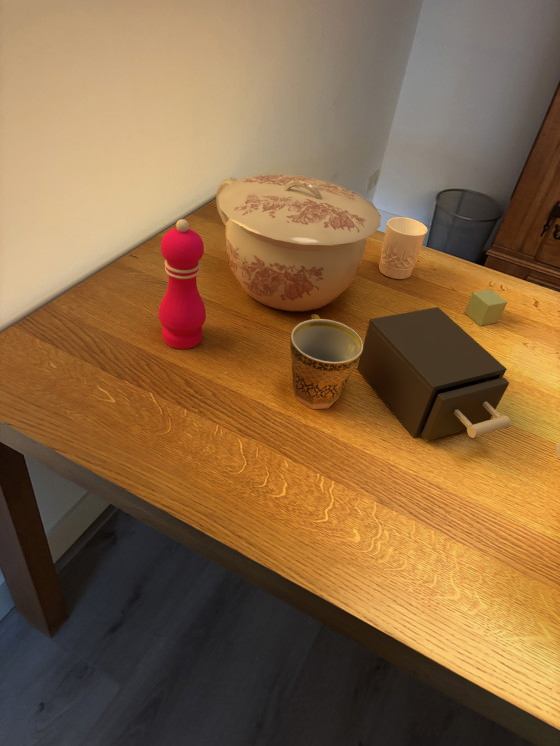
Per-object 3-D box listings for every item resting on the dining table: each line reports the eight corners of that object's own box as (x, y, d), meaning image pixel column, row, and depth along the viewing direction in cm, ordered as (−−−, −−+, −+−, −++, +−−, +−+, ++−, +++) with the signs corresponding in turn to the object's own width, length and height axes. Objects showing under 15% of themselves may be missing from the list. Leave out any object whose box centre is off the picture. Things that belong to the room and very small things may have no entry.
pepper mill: (192, 356, 84) (194, 237, 71) (150, 342, 85) (145, 223, 72) (212, 332, 89) (218, 216, 76) (173, 319, 90) (171, 204, 77)
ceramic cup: (356, 416, 78) (372, 362, 71) (288, 419, 76) (298, 363, 69) (334, 359, 87) (347, 306, 81) (273, 360, 85) (281, 306, 79)
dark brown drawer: (511, 445, 76) (534, 405, 71) (446, 466, 71) (466, 424, 66) (429, 361, 88) (444, 322, 83) (370, 374, 84) (382, 334, 79)
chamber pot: (383, 329, 95) (415, 218, 82) (228, 338, 88) (236, 218, 75) (333, 251, 115) (352, 152, 102) (203, 253, 108) (206, 147, 95)
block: (482, 309, 105) (490, 289, 102) (498, 322, 102) (507, 302, 99) (464, 312, 103) (472, 292, 100) (479, 326, 100) (488, 305, 97)
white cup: (410, 285, 108) (425, 239, 102) (372, 274, 110) (384, 228, 103) (415, 267, 114) (429, 223, 108) (379, 258, 116) (391, 213, 109)
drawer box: (482, 418, 80) (507, 368, 74) (413, 438, 76) (433, 387, 69) (420, 354, 91) (437, 306, 85) (356, 368, 86) (370, 318, 80)
